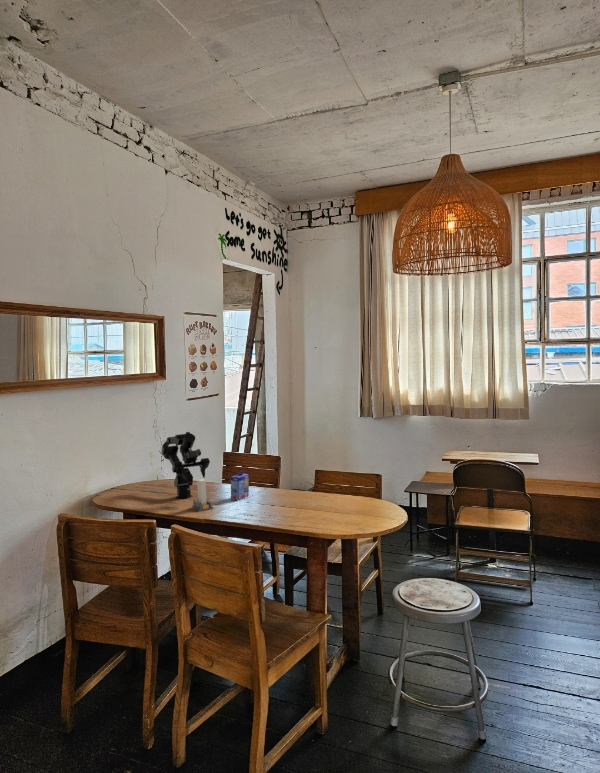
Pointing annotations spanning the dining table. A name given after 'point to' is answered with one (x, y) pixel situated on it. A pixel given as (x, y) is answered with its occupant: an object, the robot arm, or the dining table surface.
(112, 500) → the dining table surface
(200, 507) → the rack
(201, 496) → the panel
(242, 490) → the ink cartridge box
